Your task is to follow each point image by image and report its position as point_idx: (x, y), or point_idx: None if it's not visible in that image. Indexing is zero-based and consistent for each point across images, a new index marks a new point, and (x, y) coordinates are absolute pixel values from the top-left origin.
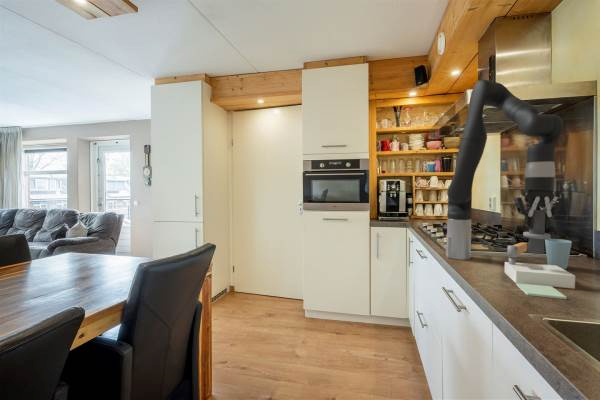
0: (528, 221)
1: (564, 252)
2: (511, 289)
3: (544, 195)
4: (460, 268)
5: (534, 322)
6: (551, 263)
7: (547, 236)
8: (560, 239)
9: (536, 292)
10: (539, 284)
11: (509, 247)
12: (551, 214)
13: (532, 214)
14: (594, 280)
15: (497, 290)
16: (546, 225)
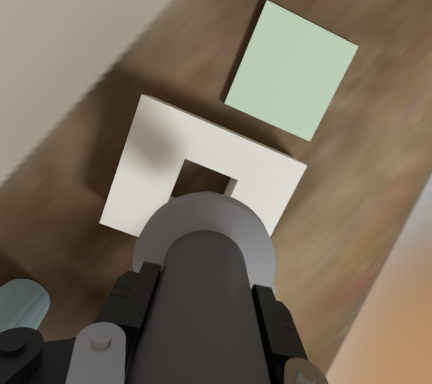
0: (286, 329)
1: None
2: (357, 103)
3: None
4: (346, 302)
5: None
6: (42, 303)
7: (193, 197)
8: None
9: (324, 50)
10: (238, 133)
11: (273, 286)
12: (74, 346)
13: (286, 377)
14: (16, 167)
15: (407, 97)
16: (153, 273)
